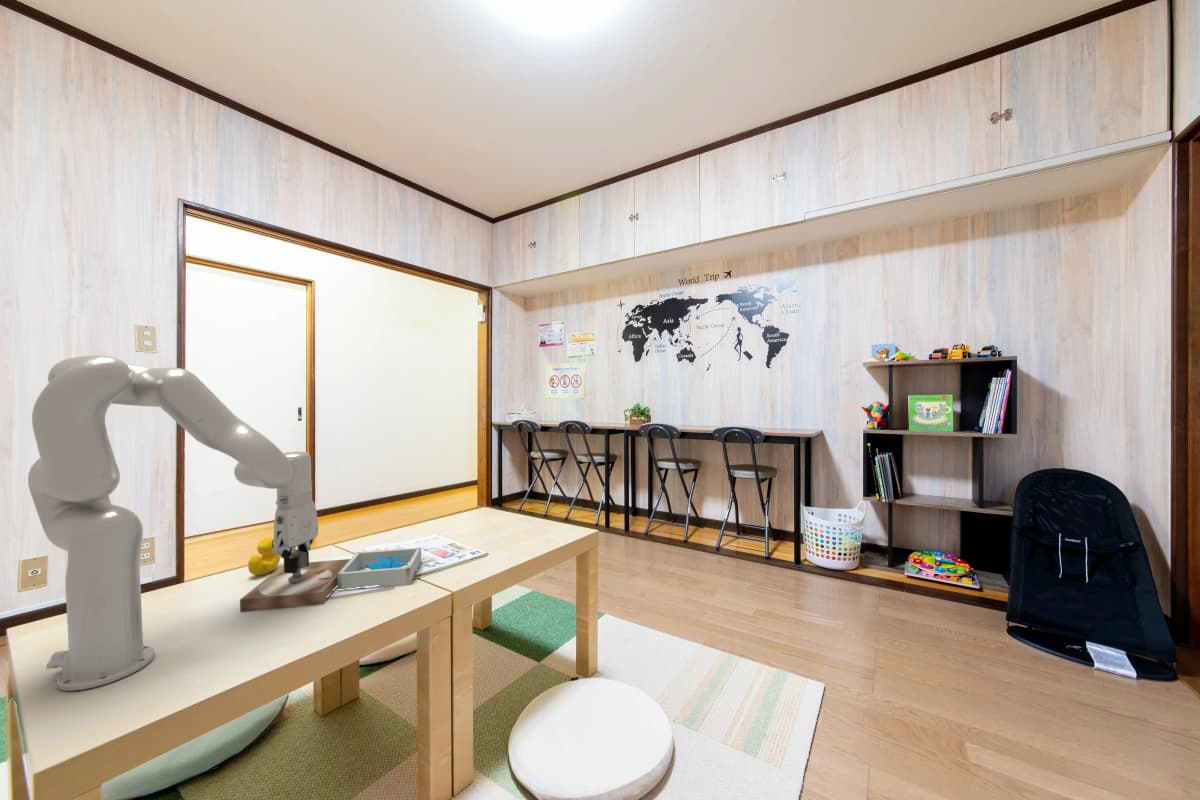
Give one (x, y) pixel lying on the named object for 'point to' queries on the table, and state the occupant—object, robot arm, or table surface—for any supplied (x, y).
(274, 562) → the duckling
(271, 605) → the board
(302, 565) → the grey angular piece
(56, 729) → the table surface
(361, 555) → the toy tray
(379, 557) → the toy airplane
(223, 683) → the table surface
